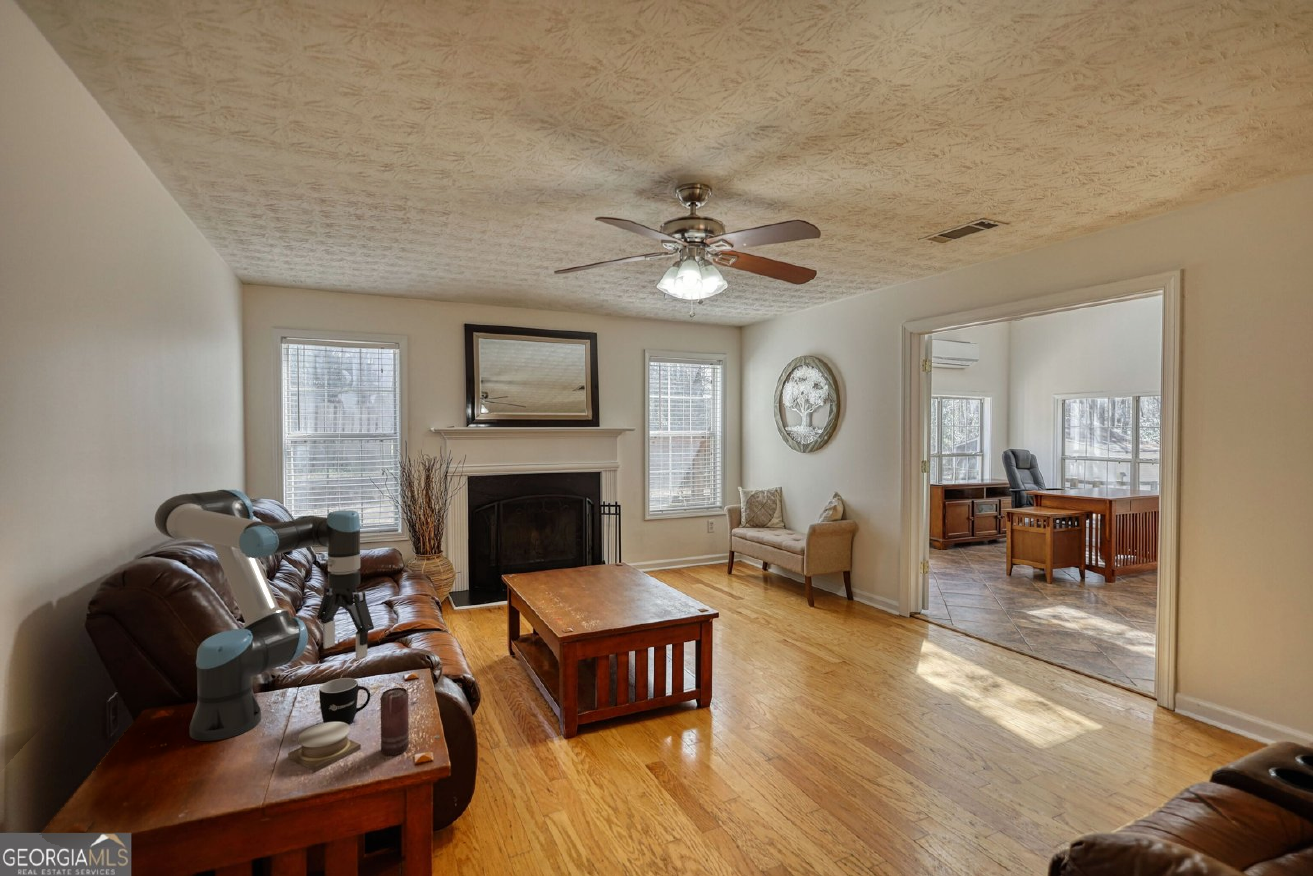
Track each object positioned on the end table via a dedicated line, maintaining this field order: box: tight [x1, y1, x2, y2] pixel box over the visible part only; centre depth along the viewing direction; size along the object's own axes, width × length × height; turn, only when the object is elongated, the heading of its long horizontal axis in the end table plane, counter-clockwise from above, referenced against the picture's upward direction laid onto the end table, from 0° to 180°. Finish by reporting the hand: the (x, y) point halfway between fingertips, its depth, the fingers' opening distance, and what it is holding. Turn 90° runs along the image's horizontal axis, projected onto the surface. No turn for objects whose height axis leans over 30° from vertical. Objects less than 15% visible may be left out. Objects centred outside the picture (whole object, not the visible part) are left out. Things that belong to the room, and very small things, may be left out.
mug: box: [318, 677, 371, 726], centre depth 163 cm, size 12×9×10 cm
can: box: [380, 687, 410, 757], centre depth 149 cm, size 6×6×14 cm
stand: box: [287, 722, 362, 773], centre depth 148 cm, size 11×11×5 cm
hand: (345, 652), depth 162 cm, fingers open, 13 cm apart
